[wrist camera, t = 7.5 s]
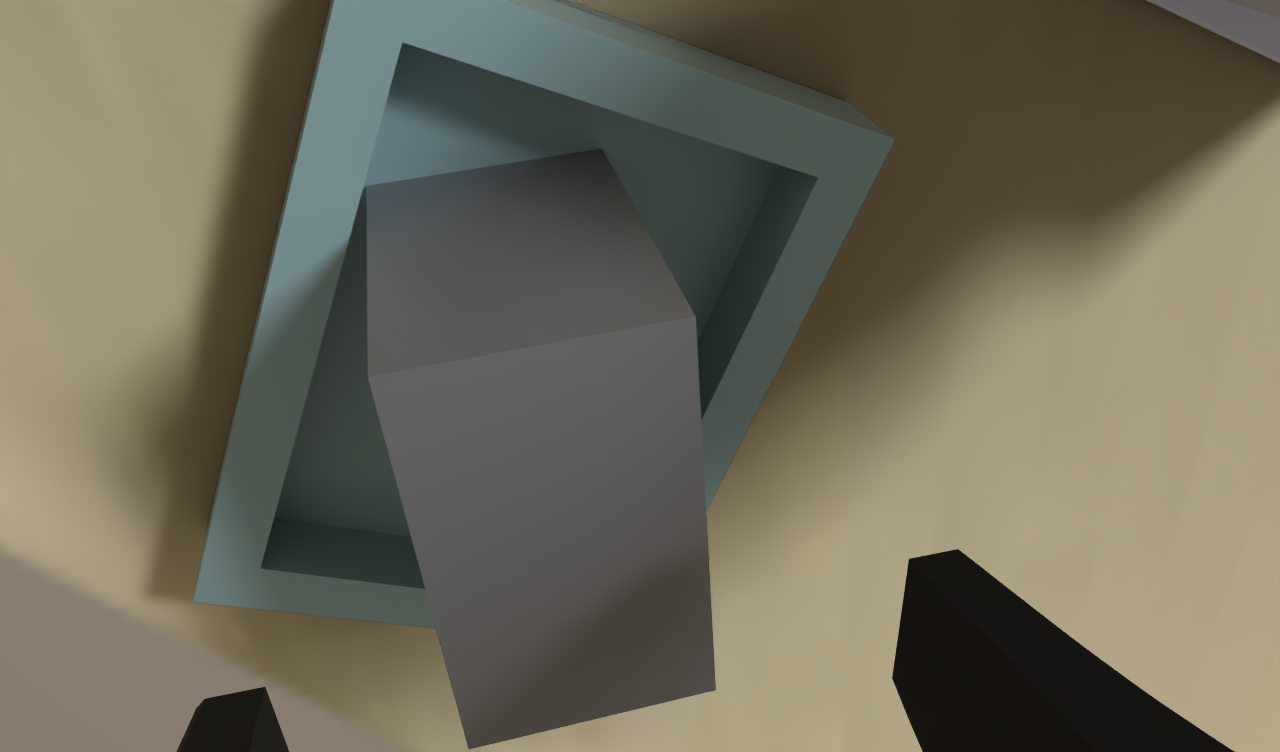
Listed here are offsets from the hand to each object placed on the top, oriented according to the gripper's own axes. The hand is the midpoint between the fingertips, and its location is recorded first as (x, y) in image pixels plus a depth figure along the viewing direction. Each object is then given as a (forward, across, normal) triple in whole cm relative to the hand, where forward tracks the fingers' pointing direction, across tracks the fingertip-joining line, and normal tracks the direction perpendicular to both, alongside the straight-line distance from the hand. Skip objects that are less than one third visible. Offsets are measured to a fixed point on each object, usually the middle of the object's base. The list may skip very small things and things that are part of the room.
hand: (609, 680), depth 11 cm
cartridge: (+9, 0, +1) cm, 9 cm away
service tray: (+9, 0, +1) cm, 9 cm away
